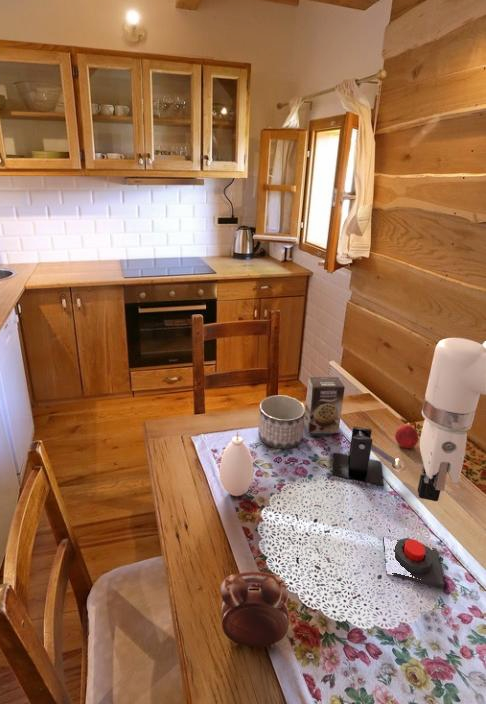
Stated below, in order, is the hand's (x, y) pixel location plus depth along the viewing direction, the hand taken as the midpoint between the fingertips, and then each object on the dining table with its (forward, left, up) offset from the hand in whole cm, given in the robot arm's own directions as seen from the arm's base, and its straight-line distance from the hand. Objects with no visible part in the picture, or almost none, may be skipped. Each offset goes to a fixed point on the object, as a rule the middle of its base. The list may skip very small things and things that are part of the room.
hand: (427, 496), depth 74 cm
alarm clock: (+27, +22, -17) cm, 39 cm away
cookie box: (+20, -40, -17) cm, 48 cm away
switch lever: (+6, -24, -11) cm, 27 cm away
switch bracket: (+10, -24, -17) cm, 31 cm away
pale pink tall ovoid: (+38, -8, -17) cm, 43 cm away
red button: (0, 0, -14) cm, 14 cm away
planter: (+31, -32, -17) cm, 48 cm away
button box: (0, 0, -17) cm, 17 cm away
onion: (-3, -38, -17) cm, 42 cm away
